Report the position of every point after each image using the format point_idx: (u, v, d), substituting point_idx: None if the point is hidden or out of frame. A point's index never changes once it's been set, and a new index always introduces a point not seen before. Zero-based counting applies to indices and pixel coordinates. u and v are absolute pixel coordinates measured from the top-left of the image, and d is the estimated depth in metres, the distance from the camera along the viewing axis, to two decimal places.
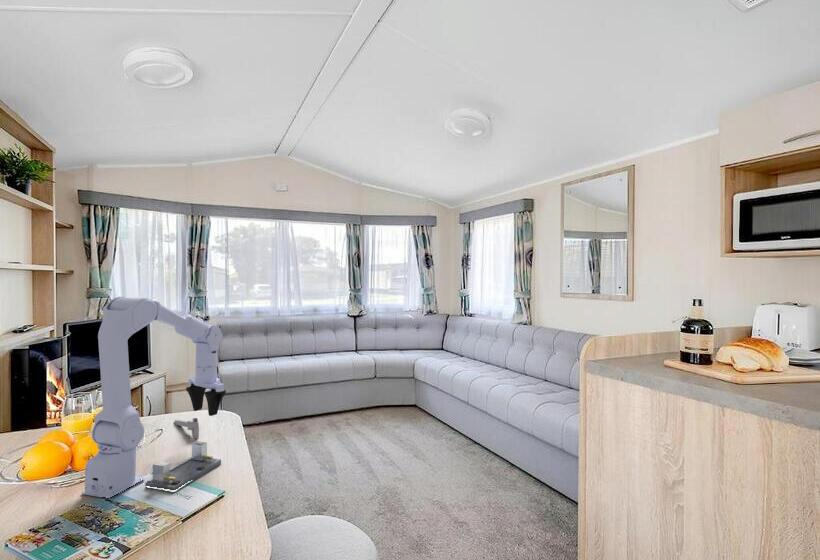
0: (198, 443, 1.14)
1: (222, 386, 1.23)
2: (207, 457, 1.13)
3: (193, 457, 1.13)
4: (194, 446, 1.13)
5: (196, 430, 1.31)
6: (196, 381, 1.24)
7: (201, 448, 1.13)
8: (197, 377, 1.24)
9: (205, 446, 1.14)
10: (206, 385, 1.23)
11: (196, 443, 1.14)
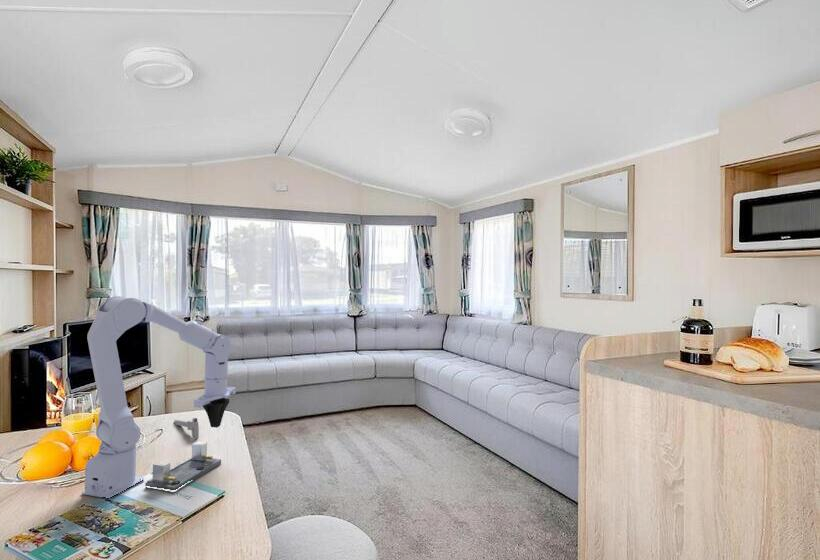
0: (198, 443, 1.14)
1: (198, 402, 1.13)
2: (207, 457, 1.13)
3: (193, 457, 1.13)
4: (194, 446, 1.13)
5: (196, 430, 1.31)
6: None
7: (201, 448, 1.13)
8: None
9: (205, 446, 1.14)
10: None
11: (196, 443, 1.14)
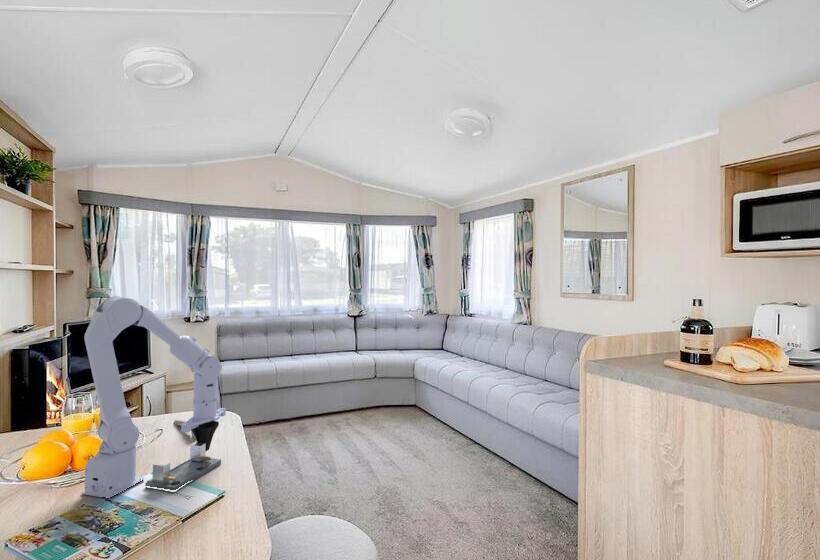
0: (197, 444, 1.13)
1: (186, 427, 1.09)
2: (206, 458, 1.13)
3: (192, 458, 1.13)
4: (193, 447, 1.13)
5: None
6: None
7: (200, 449, 1.12)
8: None
9: (204, 447, 1.13)
10: None
11: (195, 444, 1.13)
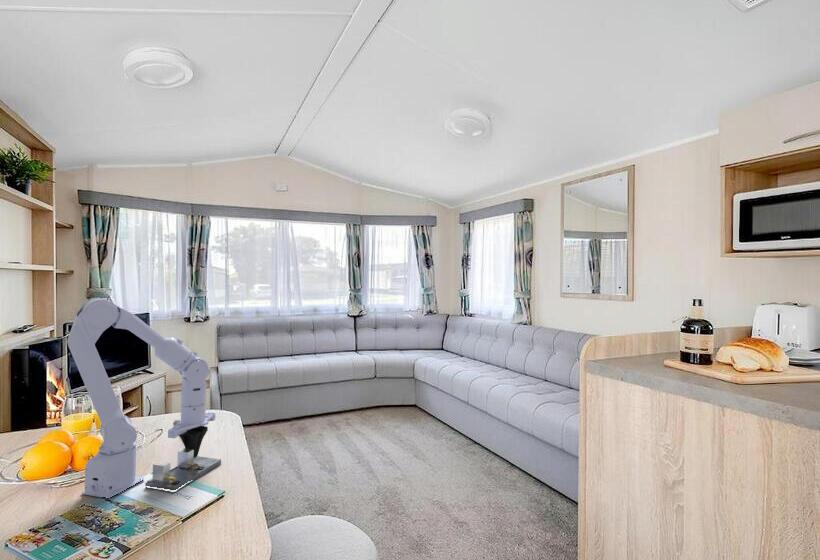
0: (184, 450, 1.09)
1: (172, 432, 1.04)
2: (193, 465, 1.08)
3: (179, 465, 1.09)
4: (180, 453, 1.08)
5: None
6: None
7: (187, 455, 1.08)
8: None
9: (191, 454, 1.09)
10: None
11: (182, 450, 1.09)
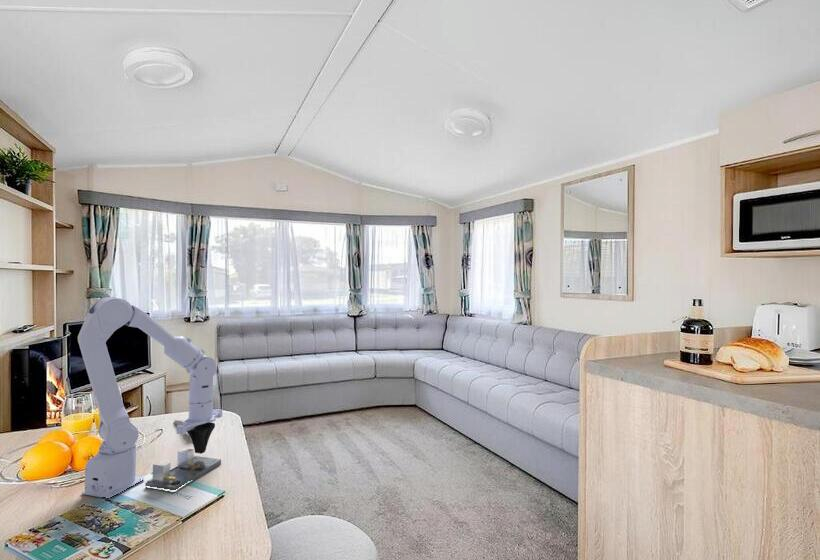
0: (184, 450, 1.09)
1: (181, 429, 1.07)
2: (193, 465, 1.08)
3: (179, 465, 1.09)
4: (180, 453, 1.08)
5: None
6: None
7: (187, 455, 1.08)
8: None
9: (191, 454, 1.09)
10: None
11: (182, 450, 1.09)
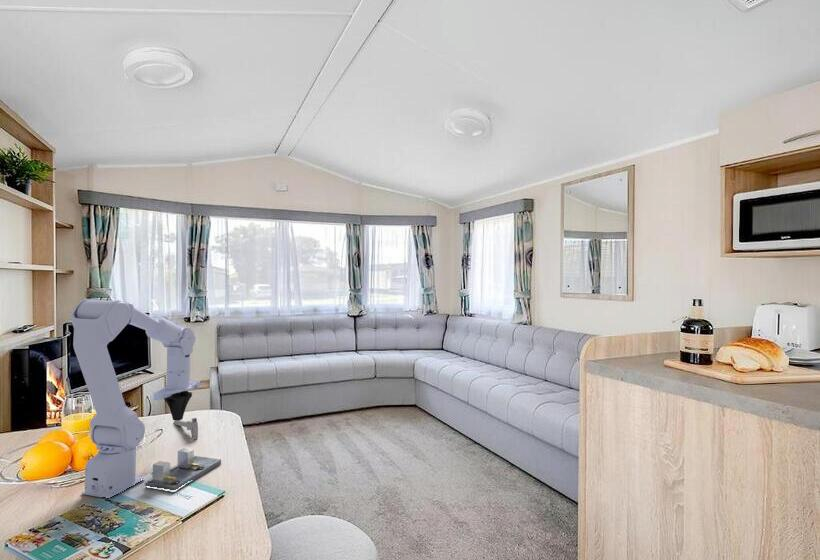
0: (184, 450, 1.09)
1: (158, 395, 1.13)
2: (193, 465, 1.08)
3: (179, 465, 1.09)
4: (180, 453, 1.08)
5: (195, 430, 1.31)
6: None
7: (187, 455, 1.08)
8: None
9: (191, 454, 1.09)
10: None
11: (182, 450, 1.09)
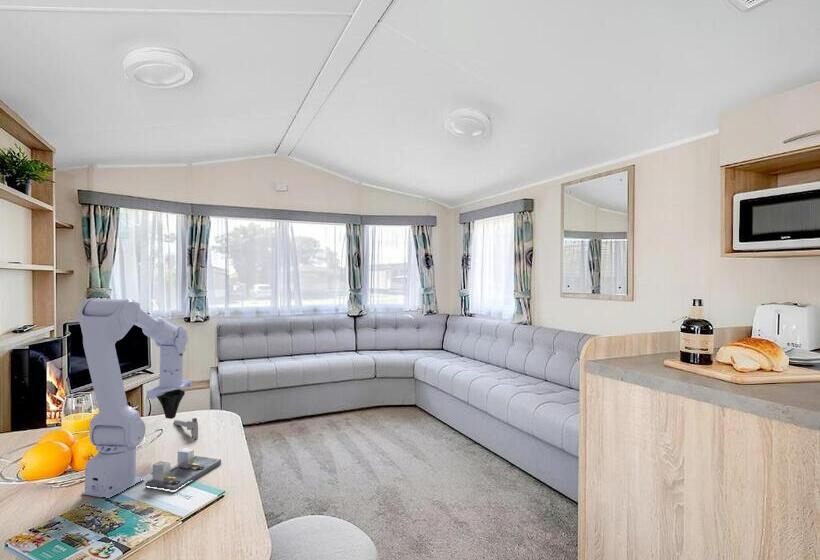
0: (184, 450, 1.09)
1: (151, 393, 1.14)
2: (193, 465, 1.08)
3: (179, 465, 1.09)
4: (180, 453, 1.08)
5: (195, 430, 1.31)
6: None
7: (187, 455, 1.08)
8: None
9: (191, 454, 1.09)
10: None
11: (182, 450, 1.09)
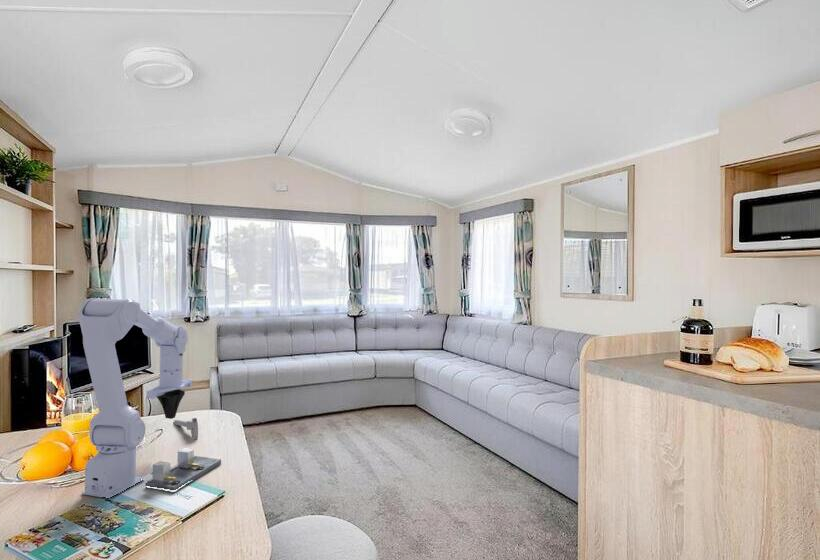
0: (184, 450, 1.09)
1: (151, 393, 1.14)
2: (193, 465, 1.08)
3: (179, 465, 1.09)
4: (180, 453, 1.08)
5: (195, 430, 1.31)
6: None
7: (187, 455, 1.08)
8: None
9: (191, 454, 1.09)
10: None
11: (182, 450, 1.09)
